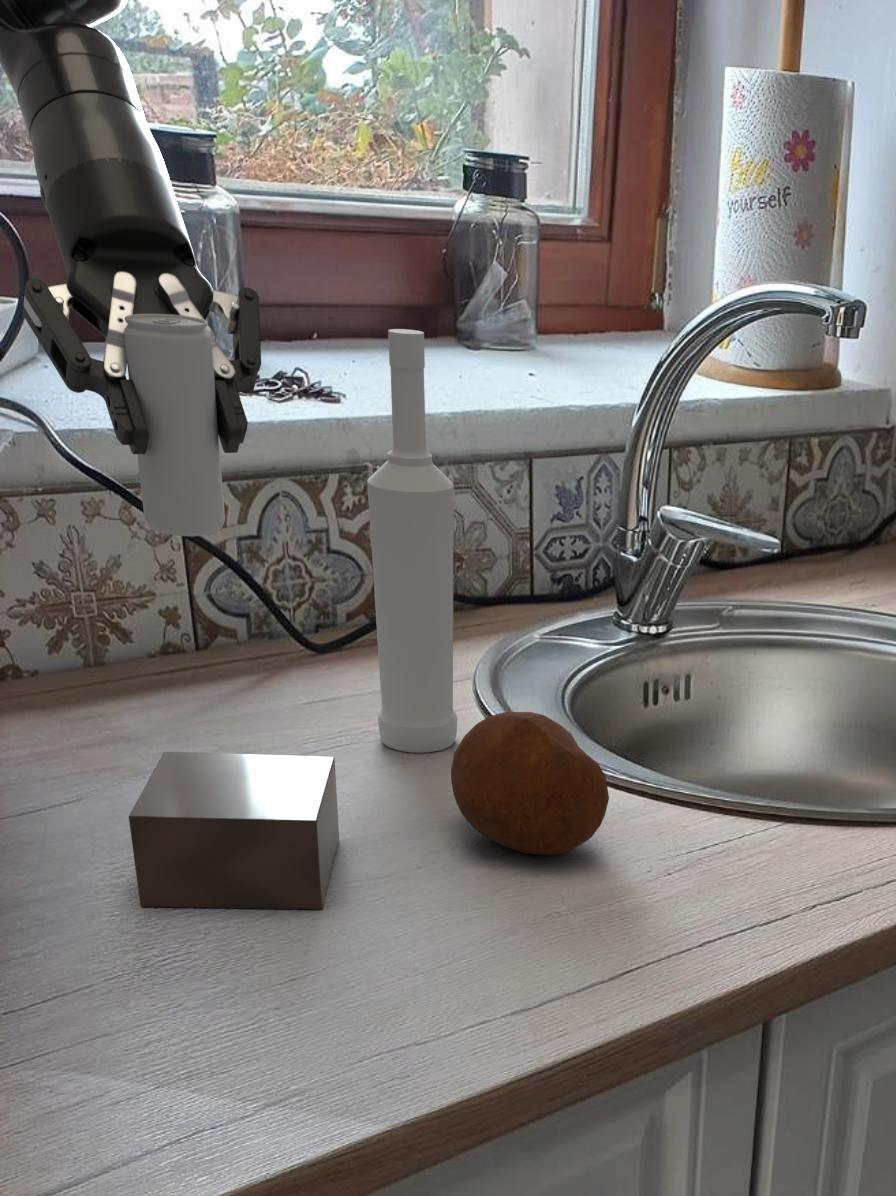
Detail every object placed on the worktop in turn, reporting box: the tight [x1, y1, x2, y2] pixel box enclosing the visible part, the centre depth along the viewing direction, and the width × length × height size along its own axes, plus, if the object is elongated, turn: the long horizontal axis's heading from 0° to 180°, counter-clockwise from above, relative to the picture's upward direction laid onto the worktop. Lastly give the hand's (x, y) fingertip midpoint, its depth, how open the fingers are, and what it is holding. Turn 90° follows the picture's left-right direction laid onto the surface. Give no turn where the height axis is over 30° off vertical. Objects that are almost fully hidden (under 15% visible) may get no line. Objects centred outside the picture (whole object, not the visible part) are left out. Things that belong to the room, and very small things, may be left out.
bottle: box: [366, 328, 458, 754], centre depth 95 cm, size 5×5×25 cm
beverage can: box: [124, 314, 226, 537], centre depth 93 cm, size 5×5×12 cm
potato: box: [450, 711, 610, 856], centre depth 87 cm, size 8×11×8 cm
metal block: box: [128, 751, 340, 910], centre depth 81 cm, size 9×9×5 cm
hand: (188, 444), depth 91 cm, fingers closed on beverage can, 4 cm apart
